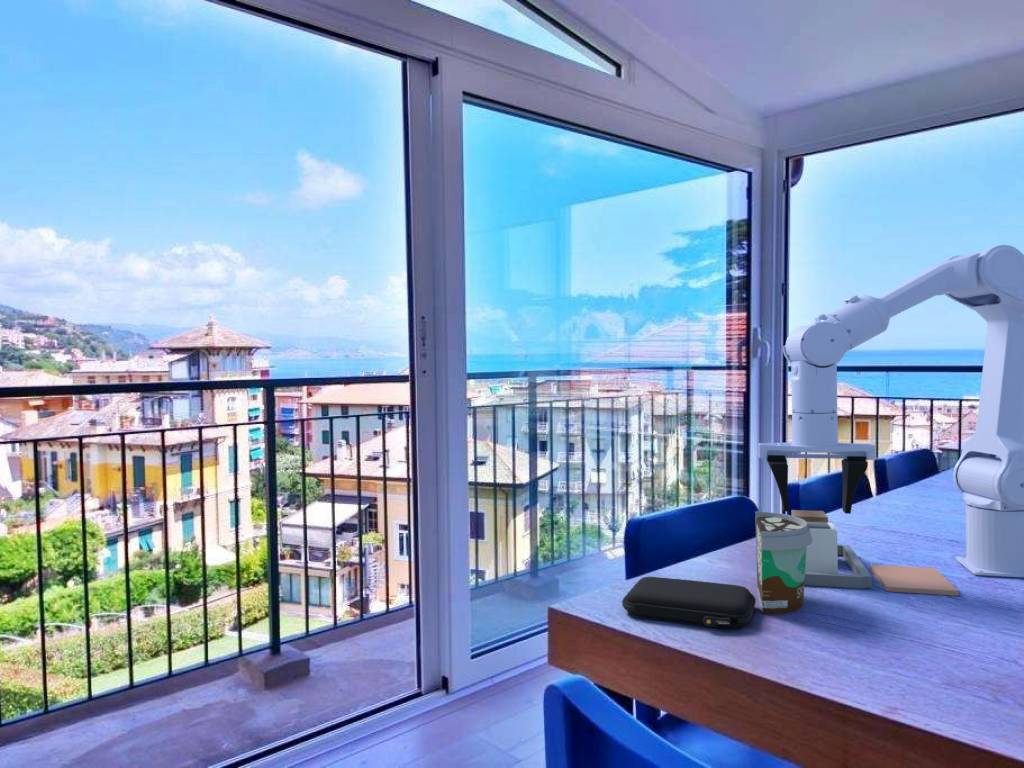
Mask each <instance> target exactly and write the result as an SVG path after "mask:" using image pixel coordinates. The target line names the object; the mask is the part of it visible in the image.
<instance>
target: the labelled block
mask: <svg viewBox="0 0 1024 768" xmlns="http://www.w3.org/2000/svg"><path fill="white" fill-rule="evenodd" d="M807 526H808V527H809V528H810V532H811V536H812V541H813V542H812V543H811V544H810V545H808V546H807V548H806V565H805V572H818V573H836V574H839V573H838V572H839V570H838V569H839V566H838V565H839V564H838V563H839V561H838V556H839V555H838V554H837V544H838V530H837V528H836V527H835V525H834V524H833V523H832V522H828V523H827V522H807Z"/></svg>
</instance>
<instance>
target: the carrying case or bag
mask: <svg viewBox="0 0 1024 768" xmlns="http://www.w3.org/2000/svg"><path fill="white" fill-rule="evenodd" d="M621 604H622V608H623V609H624V610H625V611H626V612H627V613H628V614H629V615H630V616H632V617H635V618H639V619H640V618H641V619H647V618H648V619H649V620H655V619H656V620H657V621H665V622H672V623H679V624H685V625H687V624H689V625H696V626H704V627H711V628H720V629H728V630H740V629H742V628H744V627H745V626H746V625H747V624H748V623H749V622H750V621H751V620H752V617H753V613H754V609H755V606H756V597H755V596H754V595H753V594H752V593H751V591H750V590H749V589H748V588H746V586H745V587H744V586H742V585H738V584H737V585H736V584H728V583H720V582H719V583H718V582H710V581H701V580H700V581H699V580H690V579H681V578H679V579H678V578H669V577H660V576H659V577H658V576H644V577H641V578H640V579H639V580H638V581H637V582H636V583H635V584H634V585H633V587H631V589H630V590H629V591H628V592H627V594H626V595H624V597H623V599H622V600H621ZM648 619H647V620H648Z"/></svg>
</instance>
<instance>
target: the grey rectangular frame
mask: <svg viewBox="0 0 1024 768" xmlns="http://www.w3.org/2000/svg"><path fill="white" fill-rule="evenodd" d="M837 554H838V556H841V557H843V558H844V559H845V562H846V563H847V565H848V566H849V567H850V570H851V571H852V573H851V574H850V573H838V574H836V573H818V572H805V581H804V586H812V587H826V588H827V587H828V588H845V589H862V590H863V589H864V590H865V588H867V589H872V588H873V577H872V575H871V574H870V572H869V571H868V569H867V567H865V565H864V564H863V562H862V561H861V560H860V558H859V557H858V556H857V554H856V552H855V551H854V550H853V549H852V548H851V545H849V544H842V543H837ZM853 573H854V574H853Z"/></svg>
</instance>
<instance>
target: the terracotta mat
mask: <svg viewBox="0 0 1024 768" xmlns="http://www.w3.org/2000/svg"><path fill="white" fill-rule="evenodd" d="M869 569H870V571H871V572H872V573H873V575H874V576H875V578H876V579H877V580H878V582H879V583H880V584H881V586H882V587H883V588H884V589H885V591H886V592H895V593H908V594H909V593H910V594H924V595H925V594H926V595H927V594H928V595H941V596H957V597H959V596H960V595H959V594H960V592H959V590H958V589H957V588H956V587H955V586H954V585H953V584H952V583H951V582H950V581H949V580H948V579H947V578H946V577H945V576H943V574H942V573H940V572H939V570H937V569H936V568H935V567H921V566H903V565H885V564H869Z"/></svg>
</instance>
